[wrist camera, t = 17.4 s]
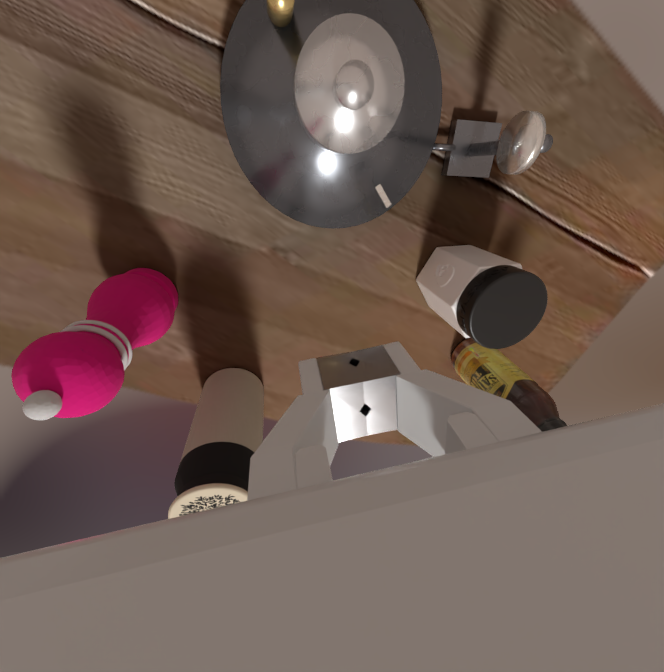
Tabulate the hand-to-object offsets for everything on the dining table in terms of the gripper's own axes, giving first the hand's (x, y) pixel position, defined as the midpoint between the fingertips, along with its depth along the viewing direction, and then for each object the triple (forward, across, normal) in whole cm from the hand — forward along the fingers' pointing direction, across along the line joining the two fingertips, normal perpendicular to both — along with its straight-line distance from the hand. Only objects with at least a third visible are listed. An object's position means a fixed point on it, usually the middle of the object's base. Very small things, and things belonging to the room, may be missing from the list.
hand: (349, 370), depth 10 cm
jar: (+29, -19, +9) cm, 36 cm away
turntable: (+29, -6, -9) cm, 31 cm away
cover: (+26, -6, -10) cm, 29 cm away
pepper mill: (+29, +17, +5) cm, 34 cm away
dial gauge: (+29, -19, -5) cm, 35 cm away
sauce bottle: (+29, -22, +22) cm, 43 cm away
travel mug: (+29, +12, +20) cm, 38 cm away
